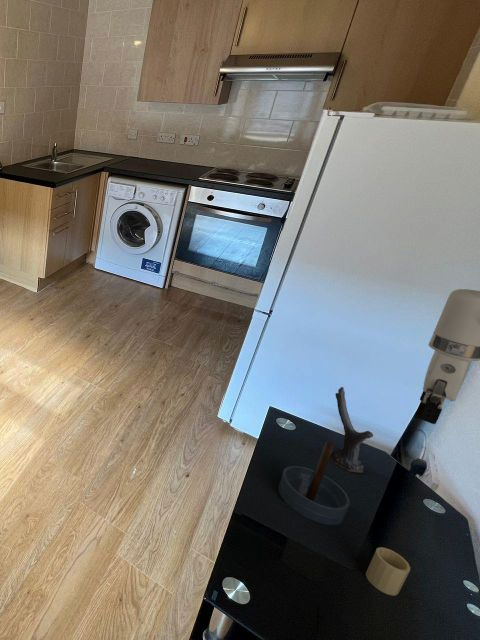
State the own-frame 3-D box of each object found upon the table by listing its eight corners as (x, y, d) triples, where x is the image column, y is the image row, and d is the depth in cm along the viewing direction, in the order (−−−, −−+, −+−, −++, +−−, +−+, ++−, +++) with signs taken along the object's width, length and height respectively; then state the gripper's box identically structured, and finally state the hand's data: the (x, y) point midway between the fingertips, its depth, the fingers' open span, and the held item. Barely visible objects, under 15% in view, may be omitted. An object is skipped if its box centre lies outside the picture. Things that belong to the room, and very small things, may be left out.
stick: (310, 498, 113) (331, 441, 107) (314, 504, 112) (336, 446, 106) (303, 497, 113) (324, 440, 107) (307, 503, 112) (329, 445, 106)
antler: (364, 466, 126) (392, 398, 118) (361, 479, 121) (389, 410, 113) (317, 444, 134) (340, 380, 127) (312, 456, 129) (336, 390, 122)
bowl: (318, 484, 119) (324, 468, 117) (357, 530, 105) (364, 512, 103) (267, 479, 120) (272, 463, 118) (298, 523, 107) (304, 505, 105)
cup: (383, 573, 95) (395, 548, 92) (404, 599, 90) (417, 573, 87) (358, 570, 95) (369, 545, 93) (377, 595, 90) (390, 569, 88)
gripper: (482, 366, 79) (448, 437, 84) (484, 341, 90) (454, 405, 95) (426, 350, 85) (398, 417, 90) (434, 328, 95) (408, 389, 100)
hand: (427, 411), depth 92 cm, fingers open, 9 cm apart
